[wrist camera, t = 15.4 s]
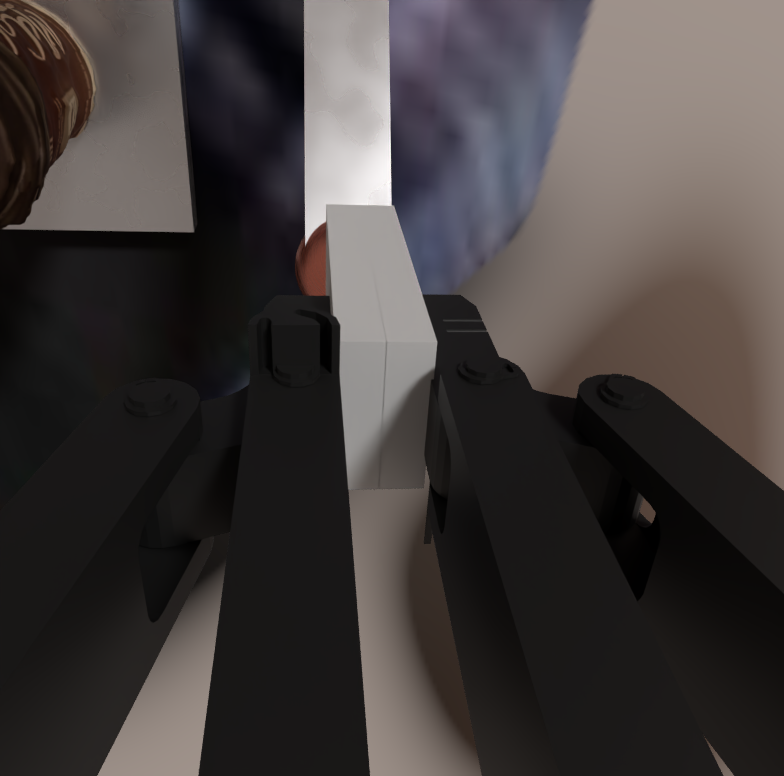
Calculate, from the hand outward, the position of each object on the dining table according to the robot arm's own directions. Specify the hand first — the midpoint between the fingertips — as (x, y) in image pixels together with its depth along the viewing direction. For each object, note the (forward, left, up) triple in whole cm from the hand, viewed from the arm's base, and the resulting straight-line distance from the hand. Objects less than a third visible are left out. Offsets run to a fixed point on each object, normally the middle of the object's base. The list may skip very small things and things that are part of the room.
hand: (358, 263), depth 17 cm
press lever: (-2, 0, -9) cm, 9 cm away
